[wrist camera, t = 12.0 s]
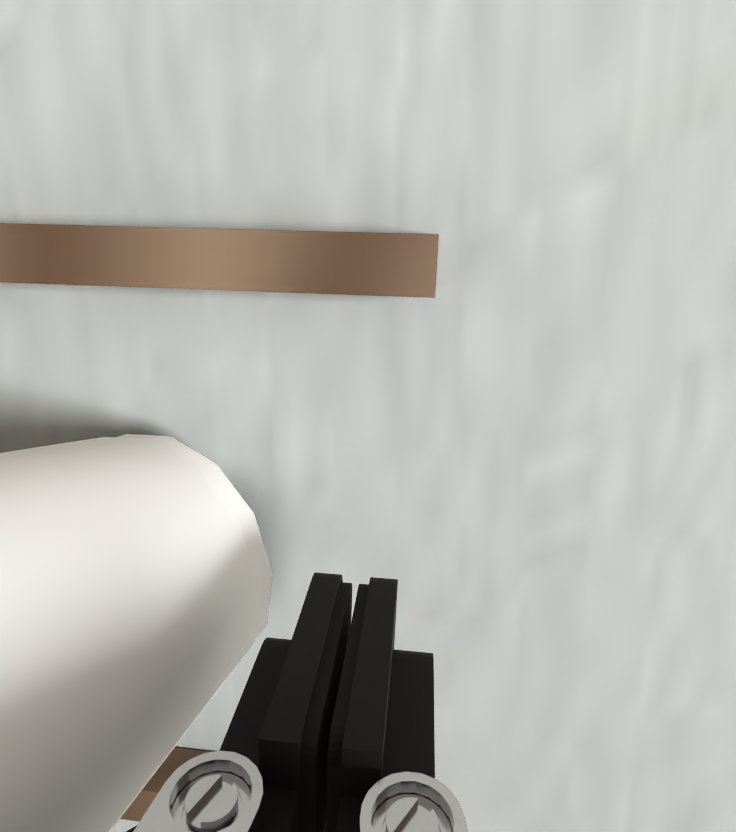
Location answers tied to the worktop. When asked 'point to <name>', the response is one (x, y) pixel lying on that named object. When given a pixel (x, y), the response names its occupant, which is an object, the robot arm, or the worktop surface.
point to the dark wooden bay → (217, 287)
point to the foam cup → (114, 618)
